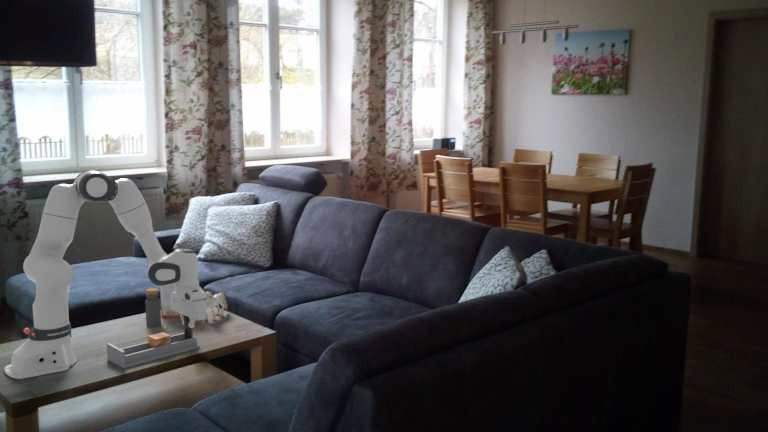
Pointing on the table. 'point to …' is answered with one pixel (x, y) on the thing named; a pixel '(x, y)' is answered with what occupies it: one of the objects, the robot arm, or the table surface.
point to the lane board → (148, 351)
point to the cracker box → (167, 301)
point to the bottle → (153, 308)
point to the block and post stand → (165, 339)
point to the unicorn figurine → (215, 303)
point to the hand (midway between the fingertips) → (188, 326)
